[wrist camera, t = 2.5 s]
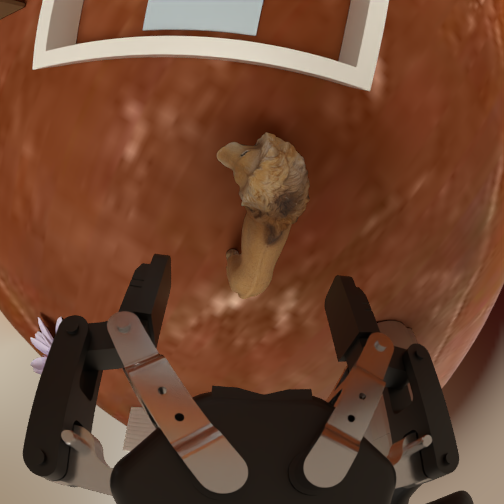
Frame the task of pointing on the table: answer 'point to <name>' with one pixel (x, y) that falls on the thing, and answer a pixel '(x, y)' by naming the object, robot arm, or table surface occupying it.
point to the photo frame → (9, 7)
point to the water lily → (42, 345)
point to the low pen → (220, 20)
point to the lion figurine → (264, 207)
